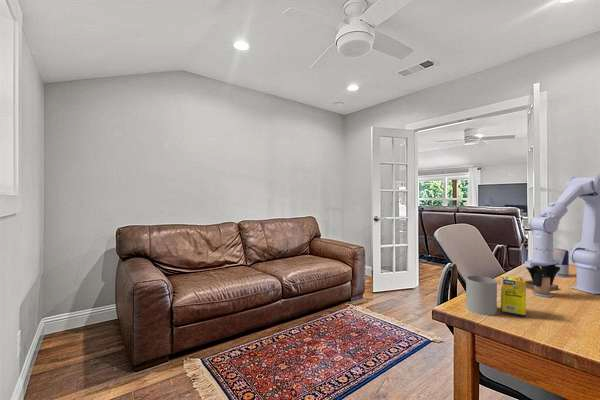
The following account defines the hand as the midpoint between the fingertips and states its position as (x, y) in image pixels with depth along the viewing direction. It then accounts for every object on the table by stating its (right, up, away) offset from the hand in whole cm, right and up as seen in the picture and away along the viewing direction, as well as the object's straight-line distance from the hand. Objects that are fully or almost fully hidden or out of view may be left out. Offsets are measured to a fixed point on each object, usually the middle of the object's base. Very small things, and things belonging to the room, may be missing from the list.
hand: (542, 285), depth 105 cm
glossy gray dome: (0, -3, 0) cm, 3 cm away
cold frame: (+5, -3, +8) cm, 10 cm away
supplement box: (-23, -4, -16) cm, 28 cm away
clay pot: (0, -3, 0) cm, 3 cm away
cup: (-32, -4, -14) cm, 35 cm away
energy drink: (+29, -3, +24) cm, 38 cm away
